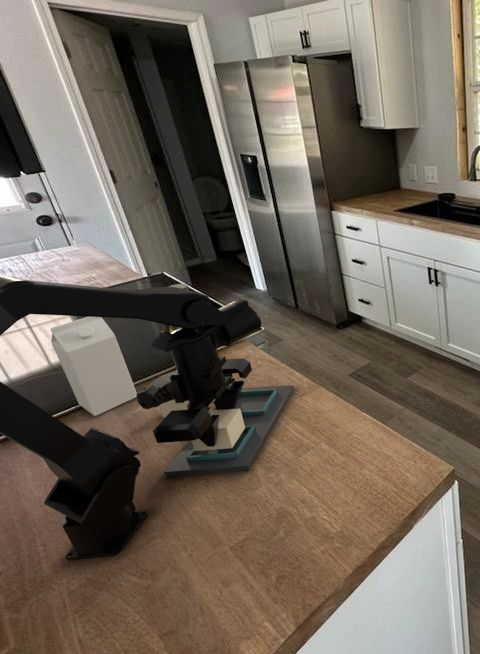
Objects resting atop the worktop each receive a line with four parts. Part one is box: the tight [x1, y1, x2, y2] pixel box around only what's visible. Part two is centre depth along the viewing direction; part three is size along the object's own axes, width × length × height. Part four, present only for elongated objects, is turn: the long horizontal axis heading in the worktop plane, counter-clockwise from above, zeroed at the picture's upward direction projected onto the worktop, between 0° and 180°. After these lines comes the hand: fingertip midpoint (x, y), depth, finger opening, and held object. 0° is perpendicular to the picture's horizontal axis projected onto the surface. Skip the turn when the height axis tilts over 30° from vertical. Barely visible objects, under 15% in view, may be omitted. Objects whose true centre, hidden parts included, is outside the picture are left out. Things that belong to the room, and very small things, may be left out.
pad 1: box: [158, 399, 190, 418], centre depth 83 cm, size 5×6×4 cm
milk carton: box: [49, 316, 138, 417], centre depth 82 cm, size 7×7×19 cm
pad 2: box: [192, 409, 245, 451], centre depth 73 cm, size 5×6×4 cm
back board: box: [163, 384, 295, 478], centre depth 79 cm, size 22×13×2 cm, turn 8°
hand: (219, 434), depth 73 cm, fingers closed on pad 2, 5 cm apart
